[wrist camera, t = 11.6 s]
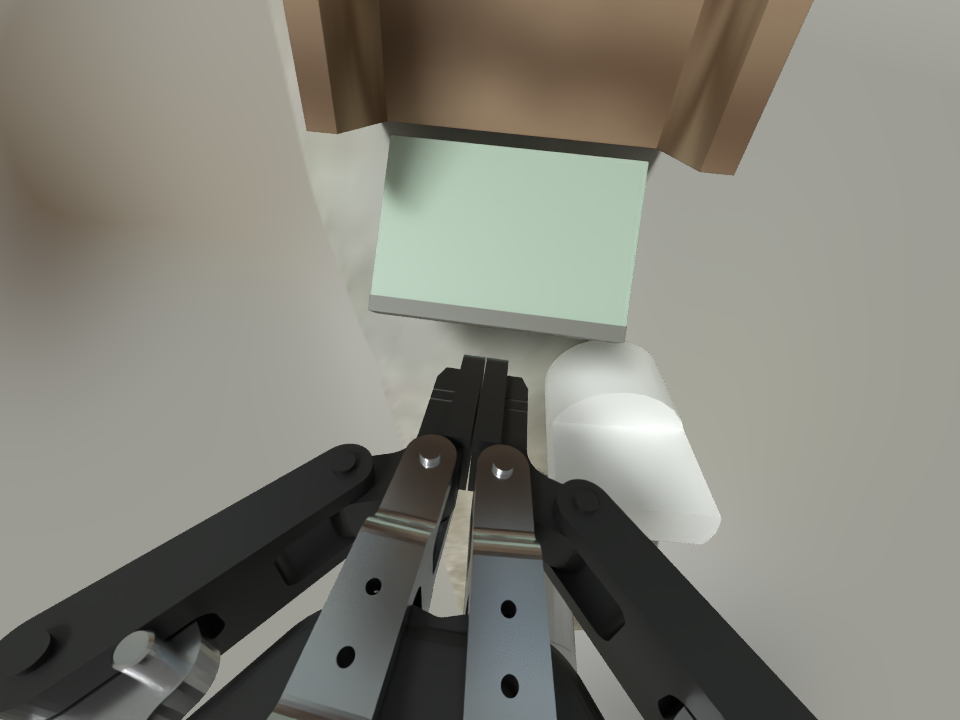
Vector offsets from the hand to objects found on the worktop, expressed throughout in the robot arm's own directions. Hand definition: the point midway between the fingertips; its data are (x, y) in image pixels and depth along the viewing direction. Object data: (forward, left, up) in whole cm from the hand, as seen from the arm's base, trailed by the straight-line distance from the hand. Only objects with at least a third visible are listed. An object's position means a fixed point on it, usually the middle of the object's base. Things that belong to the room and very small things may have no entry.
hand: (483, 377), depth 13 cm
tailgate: (+5, 0, -12) cm, 13 cm away
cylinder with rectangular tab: (-11, -9, -14) cm, 20 cm away
